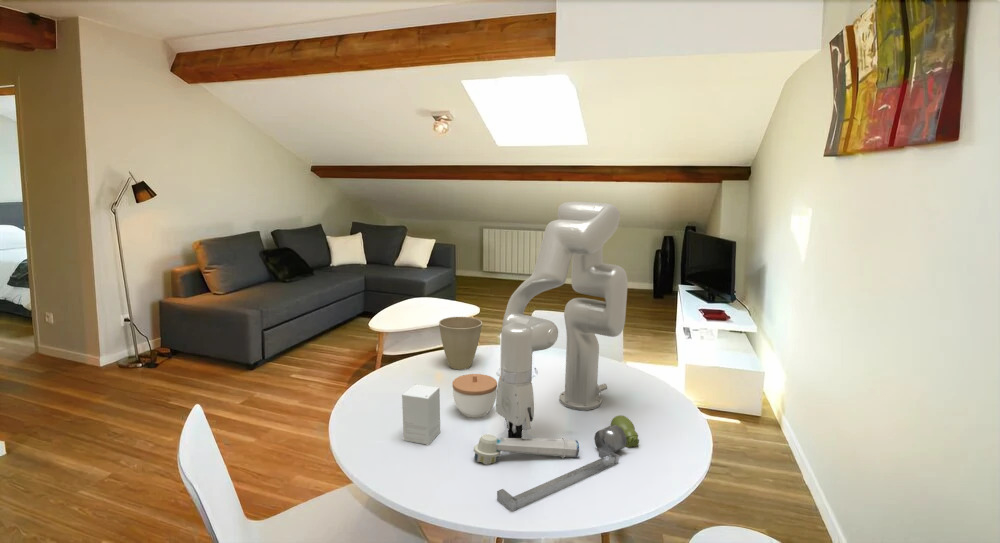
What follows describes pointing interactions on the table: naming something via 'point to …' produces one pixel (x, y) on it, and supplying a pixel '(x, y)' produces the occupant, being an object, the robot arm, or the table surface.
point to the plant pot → (460, 340)
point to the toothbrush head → (523, 447)
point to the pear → (626, 430)
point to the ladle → (605, 443)
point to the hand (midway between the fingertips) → (514, 444)
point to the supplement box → (421, 414)
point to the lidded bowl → (474, 394)
